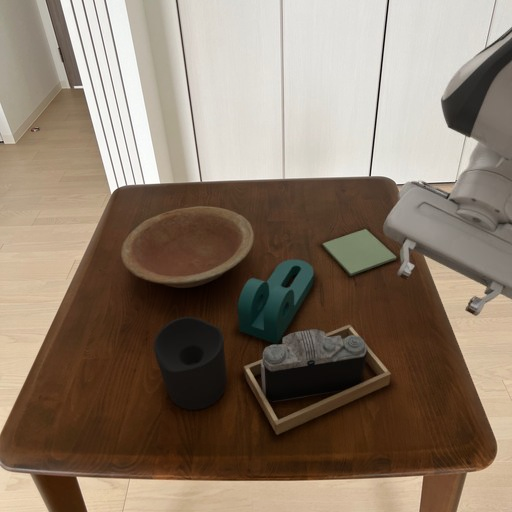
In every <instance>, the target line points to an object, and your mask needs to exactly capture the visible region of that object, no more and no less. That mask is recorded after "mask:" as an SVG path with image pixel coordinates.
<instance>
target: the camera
mask: <svg viewBox="0 0 512 512" xmlns="http://www.w3.org/2000/svg"><path fill="white" fill-rule="evenodd" d="M326 334H327V333H326V332H325V331H324V330H319V329H318V328H314V329H306V330H300V331H294V332H291V333H289V334H286V335H285V336H282V344H270V345H269V346H266V347H265V348H264V349H263V352H262V359H263V362H261V374H260V376H261V390H262V392H263V394H264V395H265V397H266V399H267V400H268V401H269V402H271V403H276V402H281V401H289V400H294V399H299V398H300V399H301V398H307V397H311V396H313V397H314V396H319V395H324V394H325V395H326V394H330V393H336V392H342V391H345V390H347V389H349V388H351V387H354V386H356V385H358V384H360V383H363V380H364V373H365V367H366V355H367V346H368V345H367V344H366V345H367V346H366V345H365V343H366V342H365V340H364V339H363V338H362V337H361V336H360V335H359V336H360V337H359V336H355V335H351V336H348V337H346V338H345V339H342V338H341V336H333V337H327V336H326Z"/></svg>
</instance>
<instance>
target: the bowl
mask: <svg viewBox="0 0 512 512" xmlns="http://www.w3.org/2000/svg"><path fill="white" fill-rule="evenodd" d="M254 240H255V235H254V230H253V227H252V225H251V222H249V220H248V219H246V218H245V217H244V216H243V215H241V214H239V213H237V212H235V211H233V210H231V209H226V208H223V207H217V206H207V205H206V206H204V205H203V206H201V205H200V206H199V205H198V206H197V205H196V206H190V207H182V208H177V209H173V210H170V211H166V212H162V213H160V214H158V215H155V216H153V217H149V218H147V219H145V220H144V221H142V222H141V223H140V224H139V225H137V226H136V227H135V228H134V229H133V230H132V231H131V232H130V233H129V234H128V235H127V236H126V238H125V240H124V241H123V243H122V245H121V250H120V256H121V257H120V258H121V261H122V263H123V265H124V266H125V268H126V269H127V270H128V271H129V272H130V273H131V274H132V275H134V276H135V277H137V278H139V279H142V280H145V281H147V282H150V283H155V284H161V285H165V286H167V287H171V288H178V289H186V288H187V289H188V288H189V289H190V288H195V287H199V286H203V285H205V284H208V283H210V282H213V281H215V280H217V279H218V278H219V277H221V276H223V274H225V273H226V272H228V271H230V270H231V269H233V268H234V267H236V266H237V265H238V264H239V263H241V262H242V261H243V260H244V259H245V258H246V257H247V255H248V254H249V253H250V251H251V250H252V247H253V245H254Z"/></svg>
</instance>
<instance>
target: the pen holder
mask: <svg viewBox="0 0 512 512" xmlns="http://www.w3.org/2000/svg"><path fill="white" fill-rule="evenodd" d="M224 342H225V341H224V333H223V332H222V329H221V328H220V327H219V326H218V325H215V324H212V323H209V322H208V321H205V320H203V319H200V318H197V317H194V316H182V317H177V318H176V319H174V320H171V321H170V322H168V323H167V324H165V325H164V326H163V327H162V328H160V330H159V331H158V332H157V334H156V336H155V338H154V342H153V352H154V353H153V354H154V356H155V359H156V361H157V364H158V365H157V366H158V368H159V371H160V374H161V377H162V380H163V384H164V386H165V389H166V392H167V394H168V396H169V398H170V400H171V401H172V402H173V403H174V404H175V405H176V406H178V407H179V408H181V409H185V410H190V411H196V410H203V409H207V408H208V407H210V406H213V405H214V404H215V403H216V402H218V401H219V400H220V398H222V396H223V394H224V393H225V390H226V387H227V368H226V367H227V366H226V356H225V355H226V354H225V353H226V352H225V343H224Z"/></svg>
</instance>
